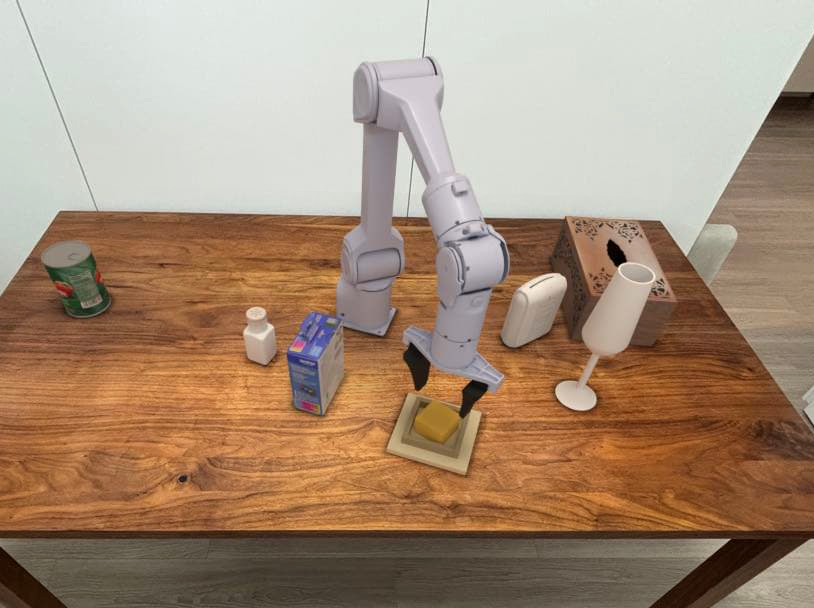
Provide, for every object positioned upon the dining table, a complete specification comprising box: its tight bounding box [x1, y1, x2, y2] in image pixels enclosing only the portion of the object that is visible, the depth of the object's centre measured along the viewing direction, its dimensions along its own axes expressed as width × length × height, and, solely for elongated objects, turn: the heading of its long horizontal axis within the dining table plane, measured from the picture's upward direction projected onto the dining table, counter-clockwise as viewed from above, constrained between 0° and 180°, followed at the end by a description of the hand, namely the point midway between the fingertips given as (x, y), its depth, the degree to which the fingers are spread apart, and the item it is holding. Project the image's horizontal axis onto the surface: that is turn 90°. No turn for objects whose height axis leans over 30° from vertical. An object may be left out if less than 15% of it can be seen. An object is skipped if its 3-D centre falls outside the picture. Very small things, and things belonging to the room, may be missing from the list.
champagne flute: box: [554, 263, 655, 412], centre depth 79 cm, size 7×7×24 cm
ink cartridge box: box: [285, 311, 345, 417], centre depth 82 cm, size 10×6×14 cm, turn 161°
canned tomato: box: [40, 240, 112, 319], centre depth 95 cm, size 8×8×11 cm
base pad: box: [385, 391, 483, 476], centre depth 81 cm, size 12×12×2 cm
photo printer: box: [500, 272, 567, 349], centre depth 93 cm, size 10×4×12 cm, turn 123°
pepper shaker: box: [242, 306, 278, 366], centre depth 88 cm, size 4×4×10 cm
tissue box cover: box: [550, 215, 679, 347], centre depth 102 cm, size 26×14×10 cm, turn 175°
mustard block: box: [413, 398, 461, 444], centre depth 80 cm, size 5×5×3 cm
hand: (442, 399), depth 76 cm, fingers open, 7 cm apart
